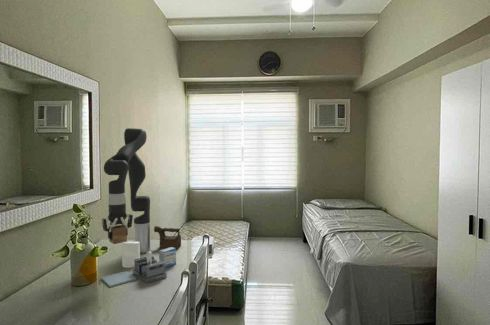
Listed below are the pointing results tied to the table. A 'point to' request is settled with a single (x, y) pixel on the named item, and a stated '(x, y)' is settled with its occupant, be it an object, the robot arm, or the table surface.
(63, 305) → the table surface
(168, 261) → the medicine box
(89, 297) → the table surface
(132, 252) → the white tapered container
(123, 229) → the walnut collar
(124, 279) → the slate mat
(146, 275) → the vise
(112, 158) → the robot arm
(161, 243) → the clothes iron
